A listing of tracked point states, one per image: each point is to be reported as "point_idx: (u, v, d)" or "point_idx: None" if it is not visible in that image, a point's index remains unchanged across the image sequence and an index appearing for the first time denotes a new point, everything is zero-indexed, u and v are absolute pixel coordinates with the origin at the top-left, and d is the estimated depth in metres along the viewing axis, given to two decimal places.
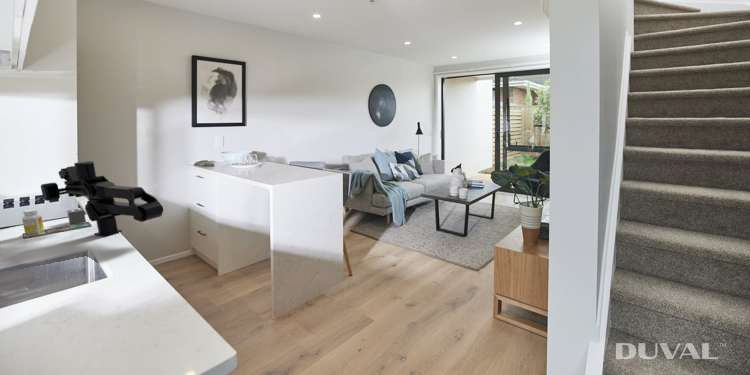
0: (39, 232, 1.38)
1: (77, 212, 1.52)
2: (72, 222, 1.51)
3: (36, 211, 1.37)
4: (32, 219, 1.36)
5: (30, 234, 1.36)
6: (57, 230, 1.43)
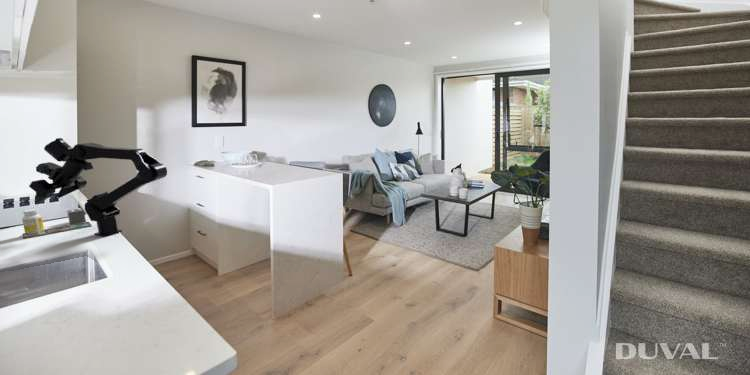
0: (39, 232, 1.38)
1: (77, 212, 1.52)
2: (72, 222, 1.51)
3: (36, 211, 1.37)
4: (32, 219, 1.36)
5: (30, 234, 1.36)
6: (57, 230, 1.43)
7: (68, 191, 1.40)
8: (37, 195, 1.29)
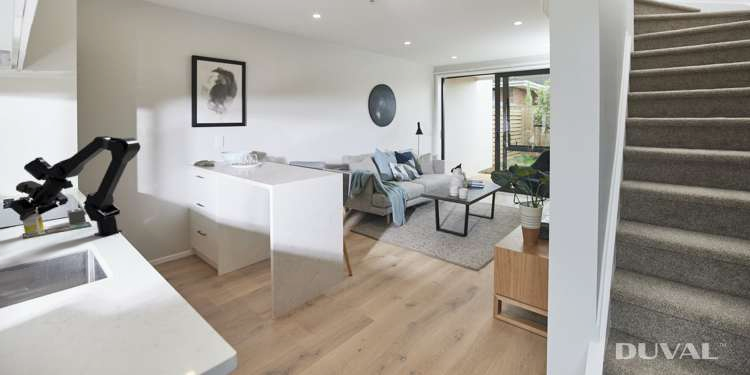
0: (39, 232, 1.38)
1: (77, 212, 1.52)
2: (72, 222, 1.51)
3: (36, 211, 1.37)
4: (32, 219, 1.36)
5: (30, 234, 1.36)
6: (57, 230, 1.43)
7: (45, 210, 1.40)
8: None
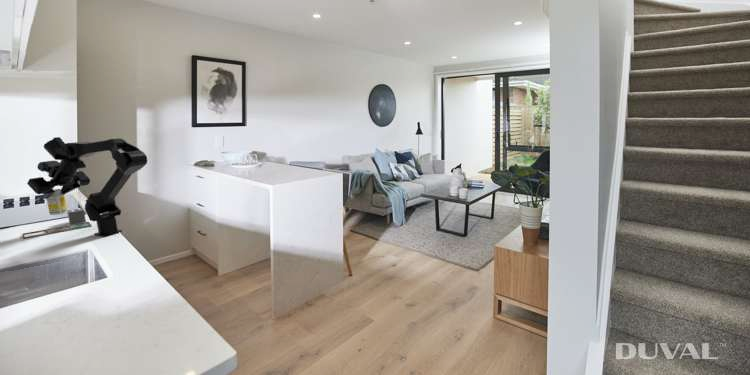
0: (60, 211, 1.41)
1: (77, 212, 1.52)
2: (72, 222, 1.51)
3: (58, 191, 1.41)
4: (54, 198, 1.40)
5: (52, 213, 1.40)
6: (57, 230, 1.43)
7: (68, 189, 1.43)
8: None
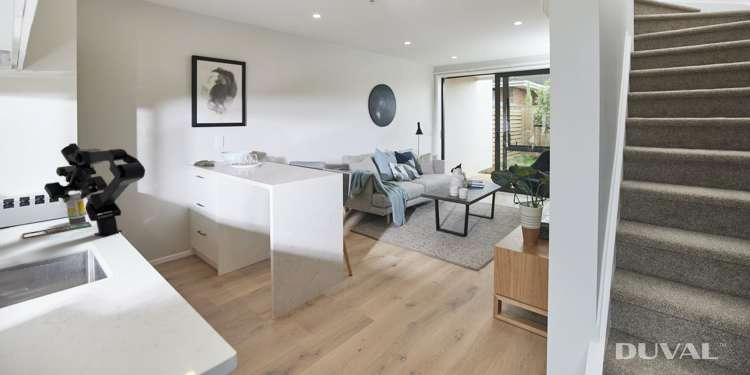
0: (78, 215, 1.45)
1: None
2: (72, 222, 1.51)
3: (76, 195, 1.44)
4: (71, 202, 1.43)
5: (70, 216, 1.44)
6: (57, 230, 1.43)
7: (86, 194, 1.46)
8: None
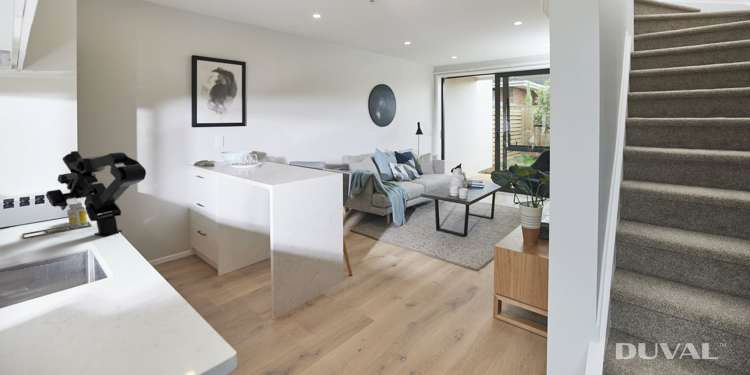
0: (79, 224, 1.46)
1: None
2: None
3: (78, 204, 1.45)
4: (73, 212, 1.44)
5: (72, 225, 1.45)
6: (57, 230, 1.43)
7: None
8: None
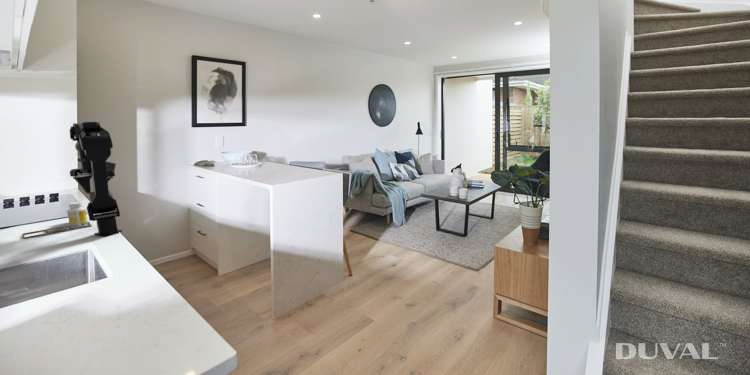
0: (79, 224, 1.46)
1: None
2: None
3: (78, 204, 1.45)
4: (73, 212, 1.44)
5: (72, 225, 1.45)
6: (57, 230, 1.43)
7: None
8: None
